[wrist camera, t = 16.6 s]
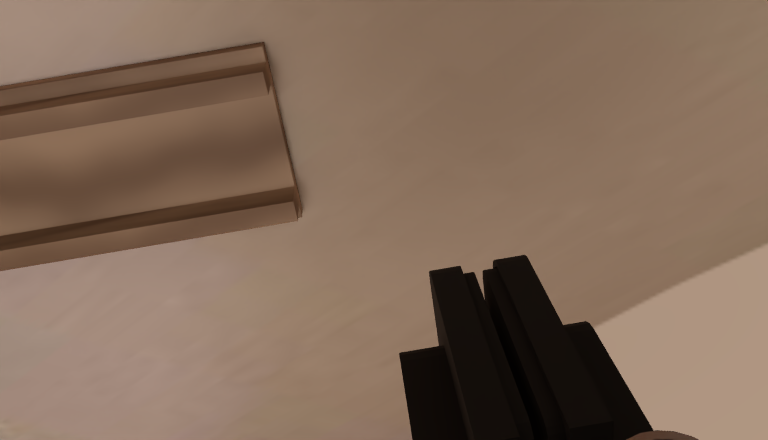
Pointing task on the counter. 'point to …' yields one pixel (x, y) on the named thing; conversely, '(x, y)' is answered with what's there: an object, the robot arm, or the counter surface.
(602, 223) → the counter surface
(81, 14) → the counter surface
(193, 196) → the chute
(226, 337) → the counter surface
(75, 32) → the counter surface
